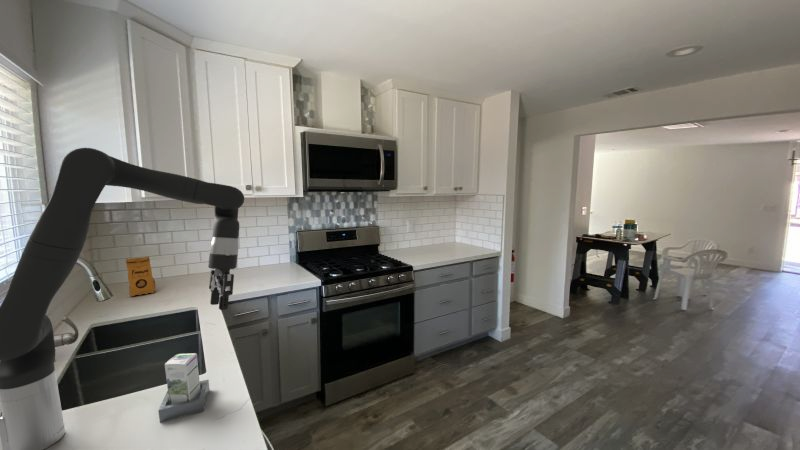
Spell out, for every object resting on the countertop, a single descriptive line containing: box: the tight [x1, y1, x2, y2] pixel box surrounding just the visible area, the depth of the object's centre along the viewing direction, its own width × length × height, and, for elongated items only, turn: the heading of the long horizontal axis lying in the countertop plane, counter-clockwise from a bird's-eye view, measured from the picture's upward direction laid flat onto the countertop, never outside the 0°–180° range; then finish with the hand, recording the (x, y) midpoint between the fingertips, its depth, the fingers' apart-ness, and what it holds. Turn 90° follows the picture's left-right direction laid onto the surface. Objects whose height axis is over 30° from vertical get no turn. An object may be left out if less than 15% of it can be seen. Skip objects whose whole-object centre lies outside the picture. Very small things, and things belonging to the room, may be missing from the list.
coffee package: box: [125, 256, 157, 297], centre depth 188 cm, size 10×12×22 cm
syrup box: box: [164, 352, 201, 405], centre depth 92 cm, size 6×6×14 cm
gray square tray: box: [157, 379, 211, 423], centre depth 92 cm, size 10×10×4 cm
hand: (218, 306), depth 97 cm, fingers open, 8 cm apart
